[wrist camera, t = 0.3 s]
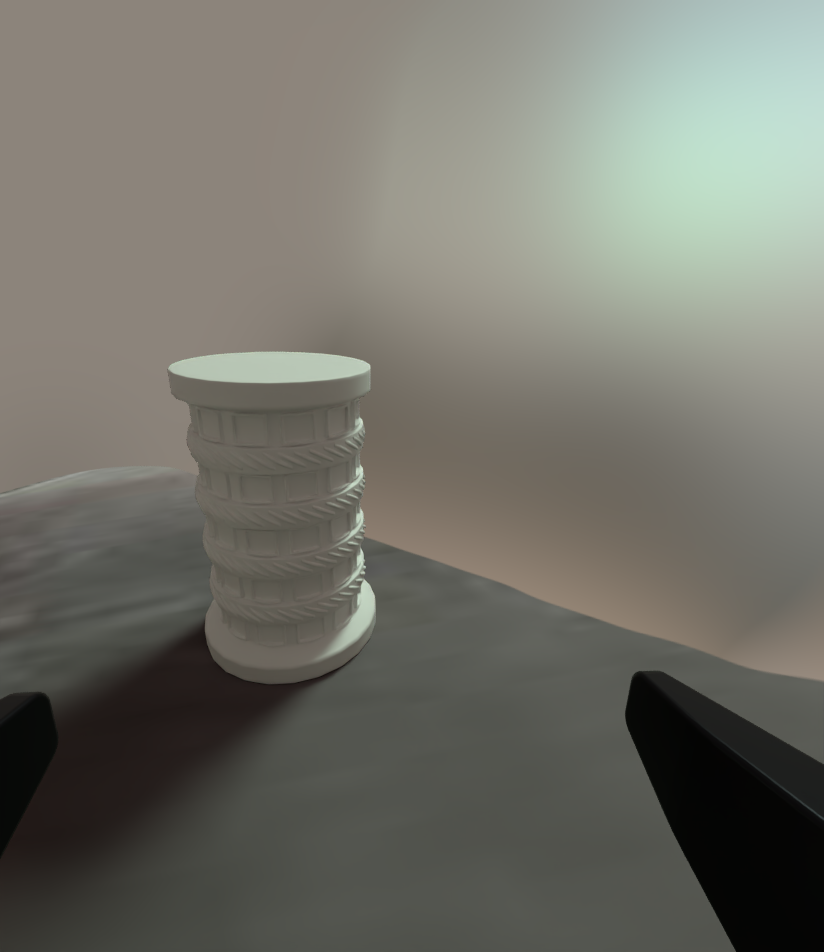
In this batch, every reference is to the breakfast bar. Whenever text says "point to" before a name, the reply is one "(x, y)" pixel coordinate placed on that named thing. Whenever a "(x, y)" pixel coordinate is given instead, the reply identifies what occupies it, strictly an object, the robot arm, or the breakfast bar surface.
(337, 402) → the decorative container
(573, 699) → the breakfast bar surface
